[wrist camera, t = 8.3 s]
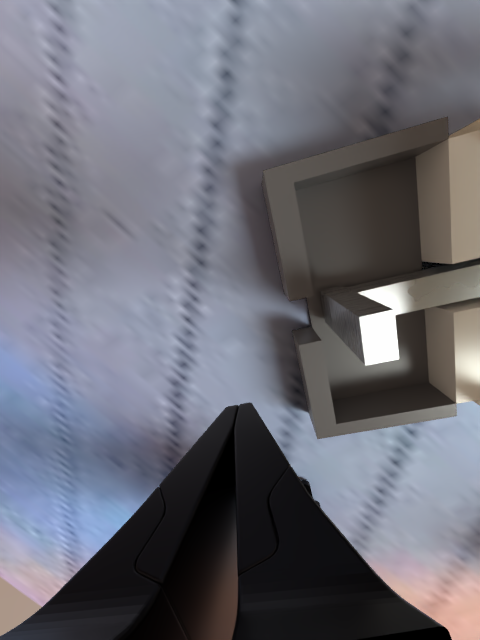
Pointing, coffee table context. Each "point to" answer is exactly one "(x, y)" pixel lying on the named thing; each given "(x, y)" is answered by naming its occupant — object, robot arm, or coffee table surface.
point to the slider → (393, 305)
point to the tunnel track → (382, 270)
